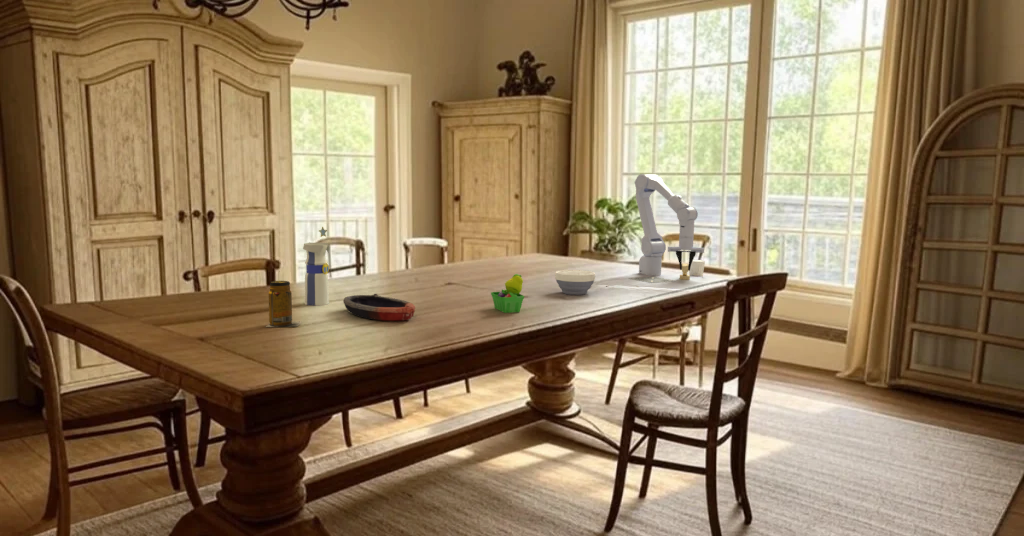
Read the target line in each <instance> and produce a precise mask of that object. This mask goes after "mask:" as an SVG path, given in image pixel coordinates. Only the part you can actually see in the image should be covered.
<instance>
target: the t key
mask: <svg viewBox="0 0 1024 536" xmlns="http://www.w3.org/2000/svg"><path fill="white" fill-rule="evenodd" d="M688 266H689V263H682V270H681V272H682V274H679V280H685V281H688V280H689V281H690V279H691V275H689V274H688V272H689V270H688Z"/></svg>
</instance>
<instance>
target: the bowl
mask: <svg viewBox="0 0 1024 536" xmlns="http://www.w3.org/2000/svg"><path fill="white" fill-rule="evenodd" d="M554 279H555V281H556V283H557V285H558V287H559V289H560V290H561V292H562V293H563V294H564V295H569V296H570V295H571V296H583V295H586V294H587V293H588V291H589V290H590V289H591V288H592V285H593V284H594V282H595V280H596V273H595V272H594V271H591V270H590V271H589V270H578V269H563V270H556V271H555V273H554Z"/></svg>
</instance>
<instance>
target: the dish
mask: <svg viewBox="0 0 1024 536" xmlns="http://www.w3.org/2000/svg"><path fill="white" fill-rule="evenodd" d="M342 301H343V304H344V307H345V309H346V311H348V312H349V313H350V314H351V315H354V316H356V317H359V318H364V319H368V320H374V321H380V322H381V321H382V322H383V321H384V322H386V321H387V322H399V321H408V320H411V319H412V318H413V317H414V315H415V311H416V305H415V304H413V303H412V302H410V301H408V300H402V299H400V298H396V297H395V298H393V297H389V296H384V295H383V296H381V295H379V294H378V293H373V294H371V295H369V294H368V295H367V294H357V295H349V296H346V297H344V298H343V300H342Z"/></svg>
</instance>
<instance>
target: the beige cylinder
mask: <svg viewBox="0 0 1024 536" xmlns="http://www.w3.org/2000/svg"><path fill="white" fill-rule="evenodd" d="M705 263H706V261H705V260H702V259H693V261H692V263H691V267H690V270H688V272H689V274H688V275H690V276H698V277H704V276H703V275H704V269H705Z"/></svg>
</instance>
